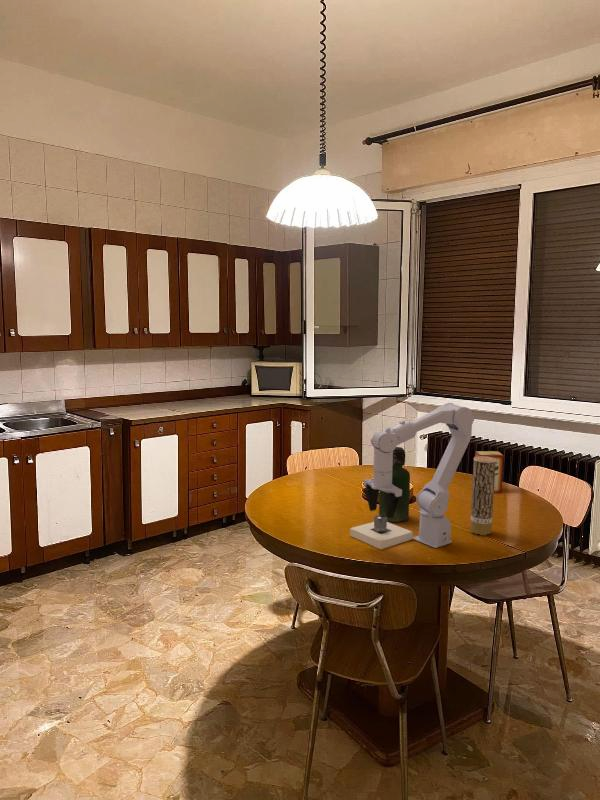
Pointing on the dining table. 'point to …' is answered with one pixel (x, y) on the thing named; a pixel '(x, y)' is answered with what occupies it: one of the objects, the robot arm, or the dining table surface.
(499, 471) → the baking soda box
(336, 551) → the dining table surface
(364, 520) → the dining table surface
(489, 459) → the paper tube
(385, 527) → the peg
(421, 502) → the robot arm
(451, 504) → the dining table surface
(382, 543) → the socket
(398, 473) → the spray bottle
